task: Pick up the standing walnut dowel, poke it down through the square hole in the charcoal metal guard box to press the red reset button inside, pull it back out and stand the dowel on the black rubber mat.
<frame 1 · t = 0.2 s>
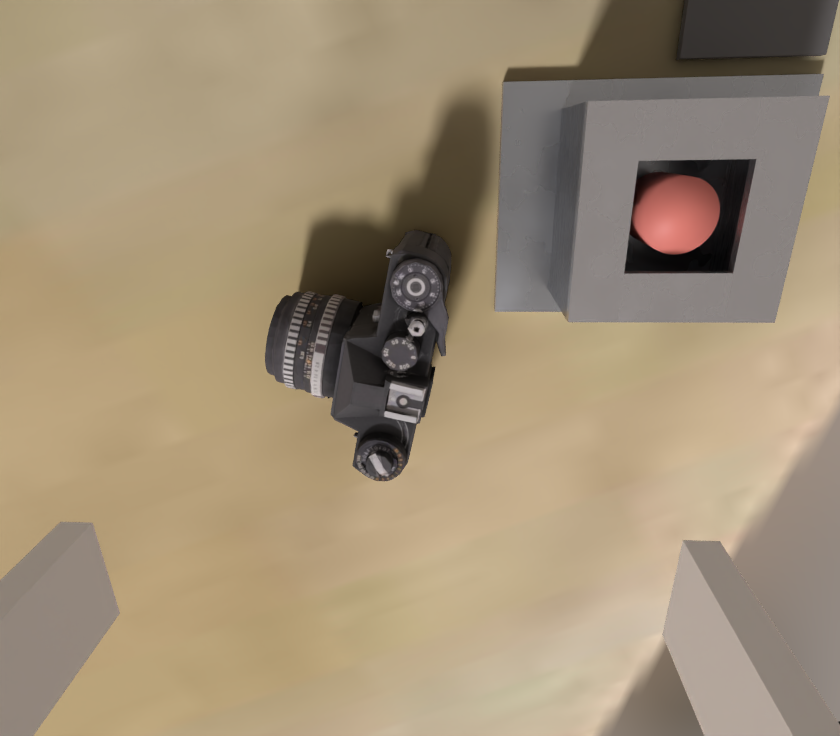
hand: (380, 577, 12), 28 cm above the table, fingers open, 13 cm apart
breaker button: (666, 211, 31), point 5 cm above the table, slide at 0.0 cm
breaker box: (639, 202, 35), on the table
camera: (368, 320, 39), on the table
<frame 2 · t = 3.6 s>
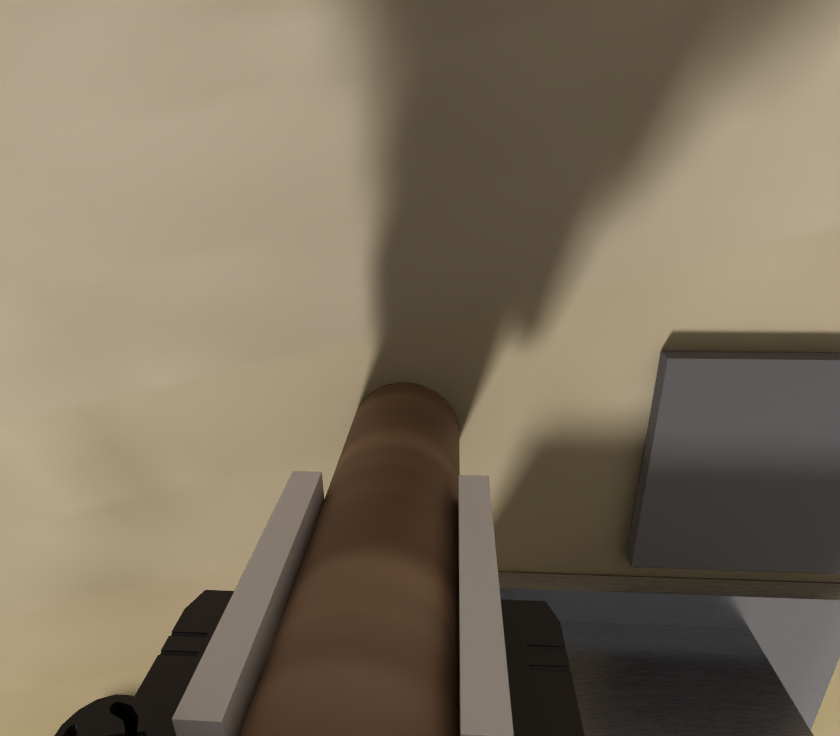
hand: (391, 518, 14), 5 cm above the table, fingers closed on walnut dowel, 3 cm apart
rubber mat: (764, 464, 18), on the table
walnut dowel: (405, 431, 19), on the table, touching gripper
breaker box: (577, 703, 23), on the table
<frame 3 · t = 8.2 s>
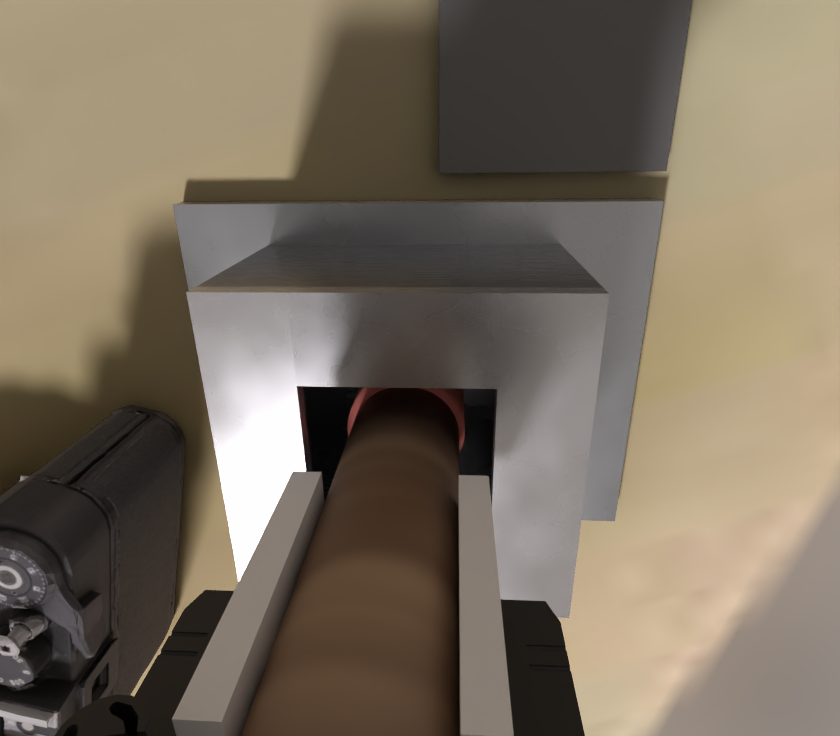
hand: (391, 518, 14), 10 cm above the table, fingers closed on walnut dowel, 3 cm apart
rubber mat: (558, 45, 19), on the table
breaker button: (410, 405, 20), point 3 cm above the table, slide at 1.5 cm, touching walnut dowel
walnut dowel: (405, 433, 19), point 5 cm above the table, touching breaker button, gripper
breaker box: (416, 370, 23), on the table
camera: (92, 512, 28), on the table
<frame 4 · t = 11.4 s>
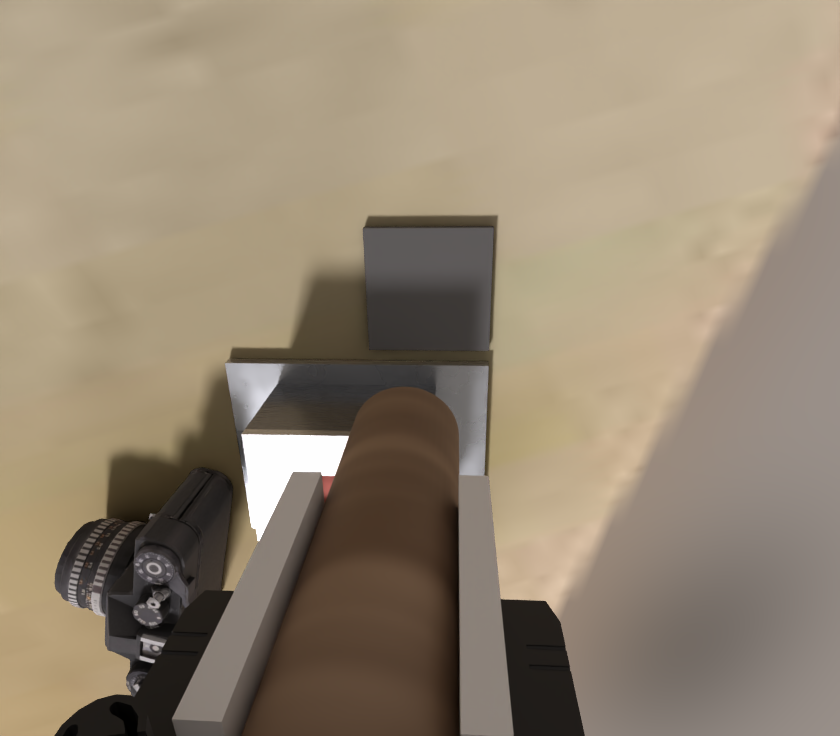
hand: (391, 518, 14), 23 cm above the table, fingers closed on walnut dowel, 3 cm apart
rubber mat: (428, 289, 36), on the table
breaker button: (354, 472, 37), point 3 cm above the table, slide at 1.5 cm
walnut dowel: (405, 434, 19), point 18 cm above the table, touching gripper
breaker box: (362, 447, 41), on the table
camera: (171, 529, 45), on the table
when the fingers open (6 cm above the table, at t = 14.5 s): walnut dowel stays where it is, resting on rubber mat.
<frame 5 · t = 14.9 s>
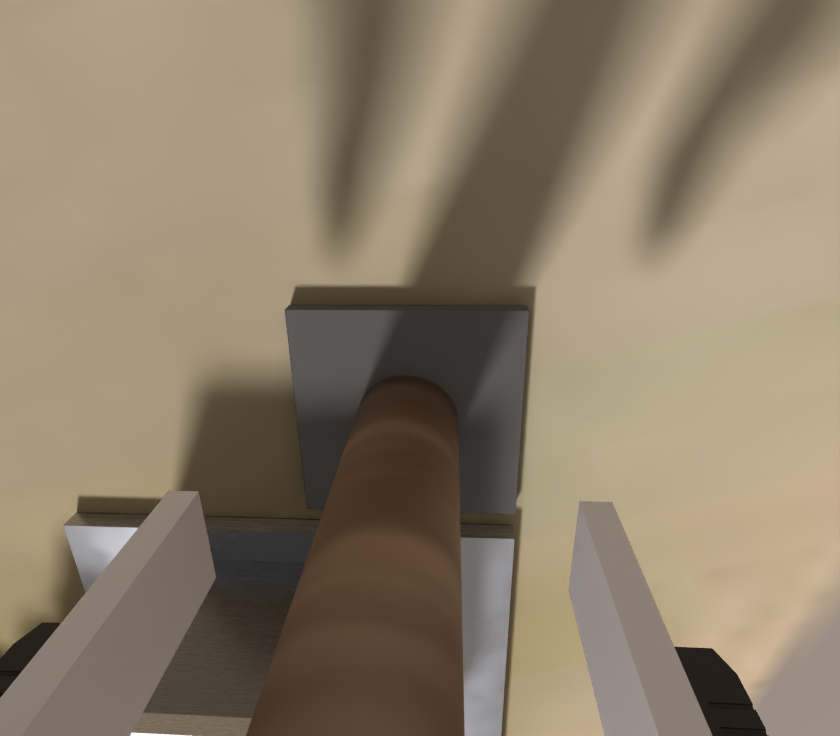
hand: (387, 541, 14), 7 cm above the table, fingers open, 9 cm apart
rubber mat: (409, 411, 20), on the table
walnut dowel: (407, 421, 19), point 1 cm above the table, touching rubber mat
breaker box: (305, 644, 25), on the table
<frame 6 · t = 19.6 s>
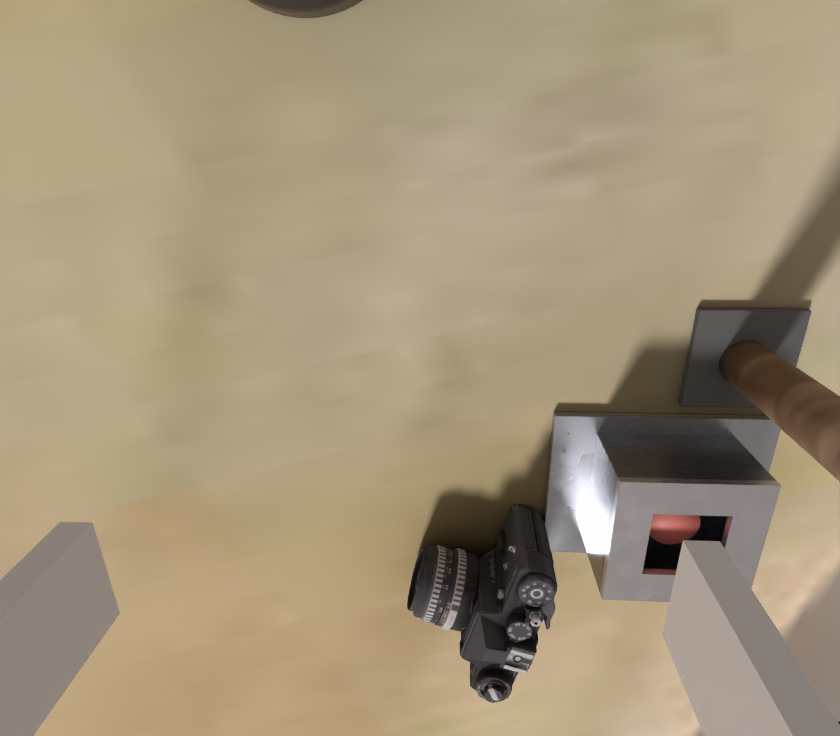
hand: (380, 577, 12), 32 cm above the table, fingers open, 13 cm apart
rubber mat: (740, 357, 43), on the table
breaker button: (664, 508, 45), point 3 cm above the table, slide at 1.5 cm
walnut dowel: (743, 361, 42), point 1 cm above the table, touching rubber mat
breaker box: (651, 484, 48), on the table
camera: (474, 554, 52), on the table
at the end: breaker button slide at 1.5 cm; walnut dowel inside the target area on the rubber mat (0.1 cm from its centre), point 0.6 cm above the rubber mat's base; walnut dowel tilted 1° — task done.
